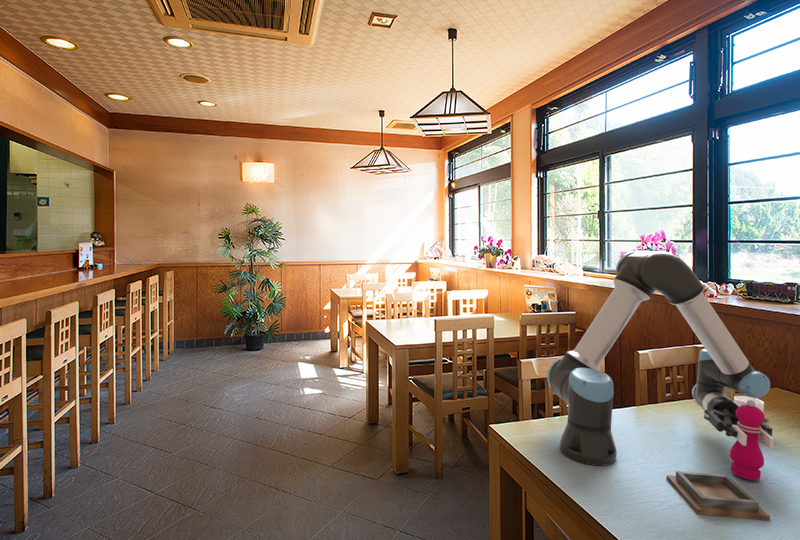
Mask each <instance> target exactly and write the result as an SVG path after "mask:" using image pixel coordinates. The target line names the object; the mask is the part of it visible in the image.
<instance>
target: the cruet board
mask: <svg viewBox="0 0 800 540" xmlns="http://www.w3.org/2000/svg"><path fill="white" fill-rule="evenodd" d="M675 471H676V472H675V475H672V474H666V480H667V481H668V482H669V483H670V484H671V486H672V487H673V488H674V489H675V491H677V493H679V495H680V496H681V497H682V498H683V500H685V502H686V503H687V504H688V505H689V506H690V507H691V508H692V509H693V511H694V512H695V513H696V514H697V515H705V516H707V515H708V516H715V517H716V516H718V517H726V518H727V517H728V518H729V517H730V518H738V519H739V518H741V519H752V520H764V521H770V520H771V519H770V518H771V516H770V514H768V513H767V512H766V511H765V510H764V509H763V508H761V506H759V504H760V502H758V501H757V500H756V499H755V498H754V497H753V496H752V495H750V493H748V492H747V491H746V490H745V489H744V488H743V487H742V486H740V485H739V484H738V483H737V482H735V481H734V479H732V478H731V477H730V476H729V475H728V474H720V473H705V472H694V471H693V472H690V471H682V470H681V471H679V470H675Z"/></svg>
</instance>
